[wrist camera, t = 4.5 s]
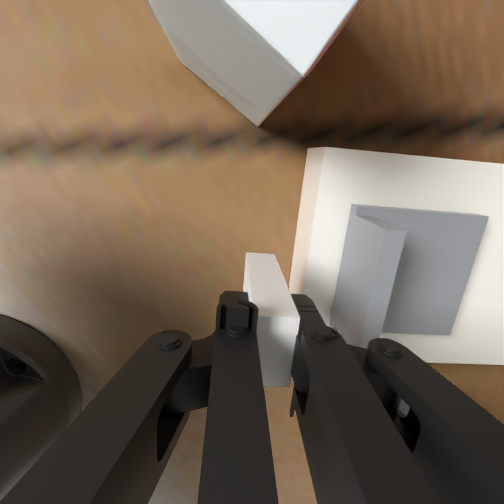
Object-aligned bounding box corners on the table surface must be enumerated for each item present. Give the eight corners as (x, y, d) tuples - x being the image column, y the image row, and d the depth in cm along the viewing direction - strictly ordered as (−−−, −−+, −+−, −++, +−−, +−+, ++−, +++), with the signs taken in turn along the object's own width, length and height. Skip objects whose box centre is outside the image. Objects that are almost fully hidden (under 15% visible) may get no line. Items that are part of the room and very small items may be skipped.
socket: (283, 327, 25) (292, 358, 21) (307, 148, 21) (325, 146, 17) (505, 336, 27) (551, 366, 23) (570, 173, 22) (639, 177, 19)
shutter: (329, 324, 20) (354, 367, 16) (351, 204, 18) (388, 218, 13) (441, 328, 21) (493, 371, 17) (478, 214, 18) (549, 231, 14)
